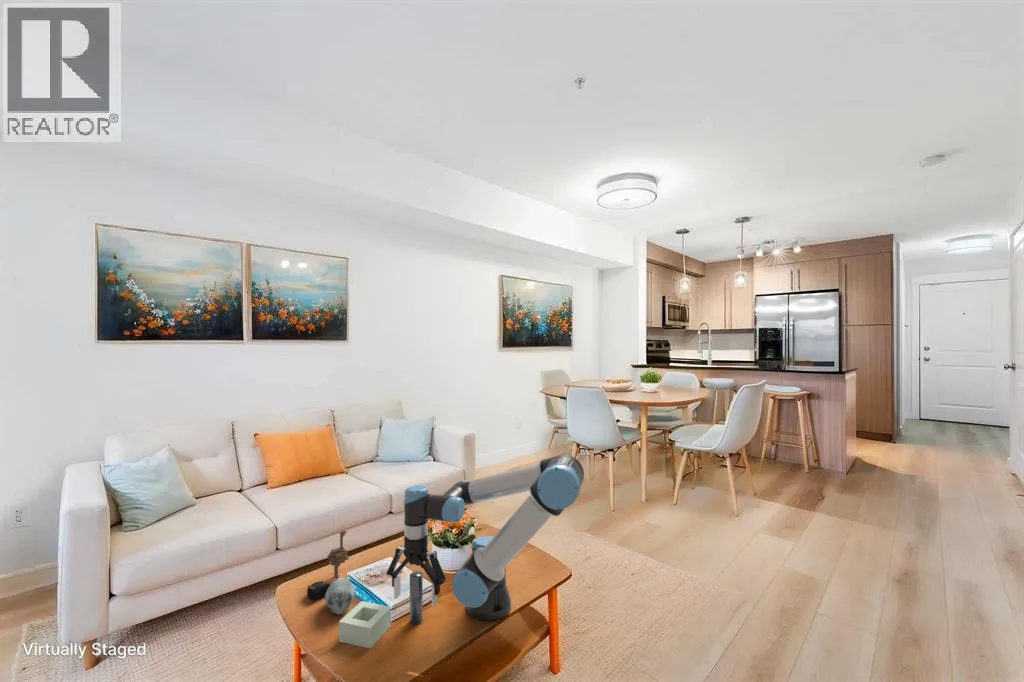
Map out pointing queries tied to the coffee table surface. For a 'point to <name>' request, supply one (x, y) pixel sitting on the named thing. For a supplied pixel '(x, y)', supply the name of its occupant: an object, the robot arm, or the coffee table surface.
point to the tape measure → (317, 589)
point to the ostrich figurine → (337, 556)
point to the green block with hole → (365, 624)
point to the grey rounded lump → (340, 595)
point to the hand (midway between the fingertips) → (415, 600)
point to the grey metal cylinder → (416, 598)
